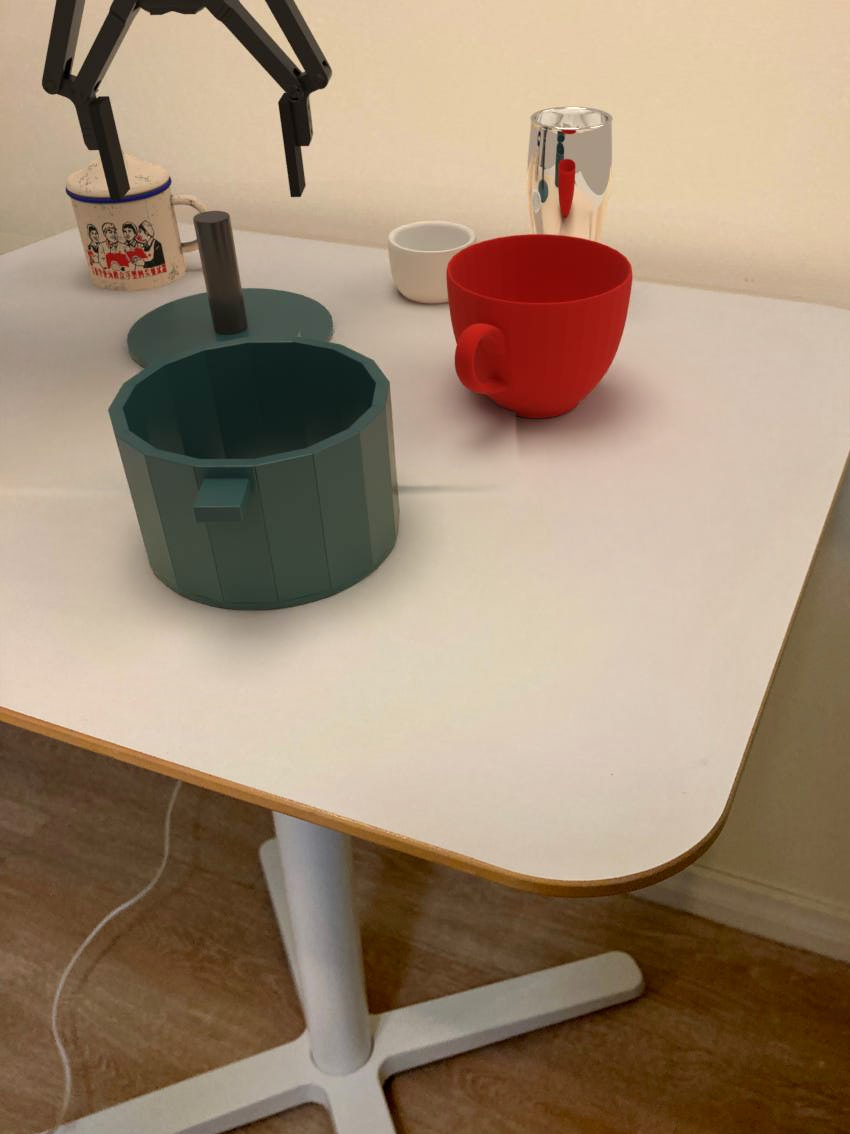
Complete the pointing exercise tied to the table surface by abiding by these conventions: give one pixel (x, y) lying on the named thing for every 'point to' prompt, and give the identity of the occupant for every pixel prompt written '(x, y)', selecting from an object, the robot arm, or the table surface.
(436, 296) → the teacup
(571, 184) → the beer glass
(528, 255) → the ceramic cup
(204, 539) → the pot
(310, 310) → the lid
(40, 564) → the table surface
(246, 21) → the robot arm
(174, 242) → the teacup with lid
